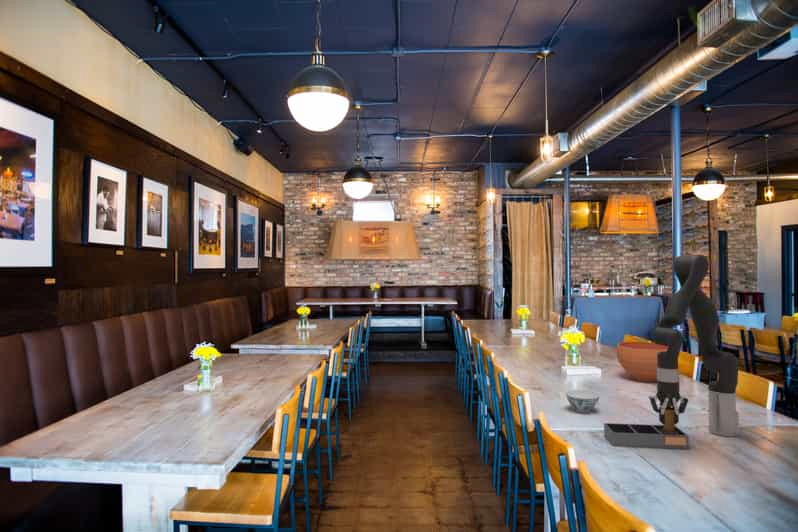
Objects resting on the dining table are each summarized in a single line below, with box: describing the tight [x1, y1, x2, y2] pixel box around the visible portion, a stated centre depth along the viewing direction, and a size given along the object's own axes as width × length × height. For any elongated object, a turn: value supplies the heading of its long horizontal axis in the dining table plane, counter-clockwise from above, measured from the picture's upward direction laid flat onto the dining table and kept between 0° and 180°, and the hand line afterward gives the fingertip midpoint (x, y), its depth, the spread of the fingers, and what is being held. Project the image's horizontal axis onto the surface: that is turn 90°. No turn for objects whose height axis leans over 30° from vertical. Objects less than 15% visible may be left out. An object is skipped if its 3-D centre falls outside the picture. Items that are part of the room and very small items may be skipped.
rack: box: [603, 422, 690, 450], centre depth 181 cm, size 27×12×5 cm, turn 81°
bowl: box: [616, 340, 668, 382], centre depth 278 cm, size 30×30×20 cm
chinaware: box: [565, 389, 600, 413], centre depth 222 cm, size 15×15×8 cm
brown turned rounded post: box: [660, 393, 679, 435], centre depth 180 cm, size 7×6×18 cm
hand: (668, 423), depth 180 cm, fingers closed on brown turned rounded post, 4 cm apart
